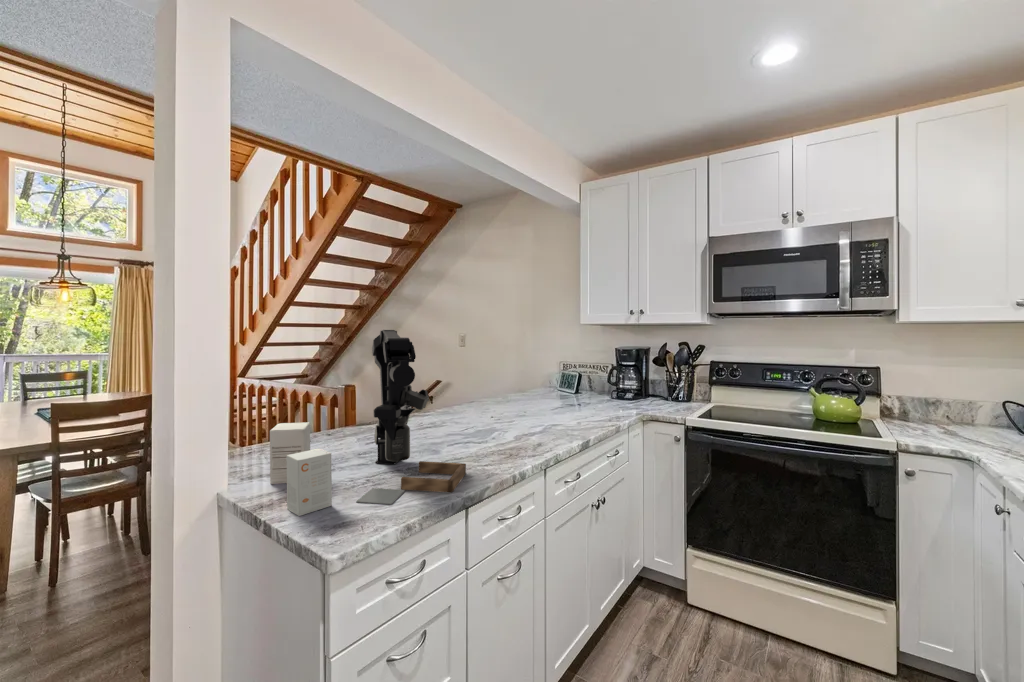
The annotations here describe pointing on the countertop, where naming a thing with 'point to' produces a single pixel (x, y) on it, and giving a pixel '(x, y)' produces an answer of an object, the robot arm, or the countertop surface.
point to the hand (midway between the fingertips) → (397, 437)
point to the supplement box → (286, 447)
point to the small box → (309, 481)
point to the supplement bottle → (398, 442)
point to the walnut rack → (435, 484)
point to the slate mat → (381, 496)
